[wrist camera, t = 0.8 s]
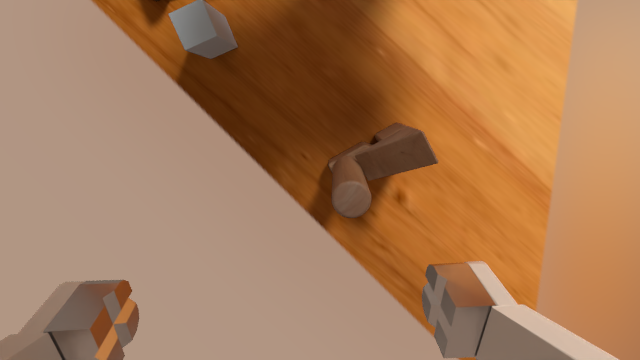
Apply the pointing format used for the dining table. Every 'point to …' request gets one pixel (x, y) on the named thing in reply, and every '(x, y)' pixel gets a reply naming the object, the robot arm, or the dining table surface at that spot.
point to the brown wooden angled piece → (376, 165)
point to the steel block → (203, 29)
